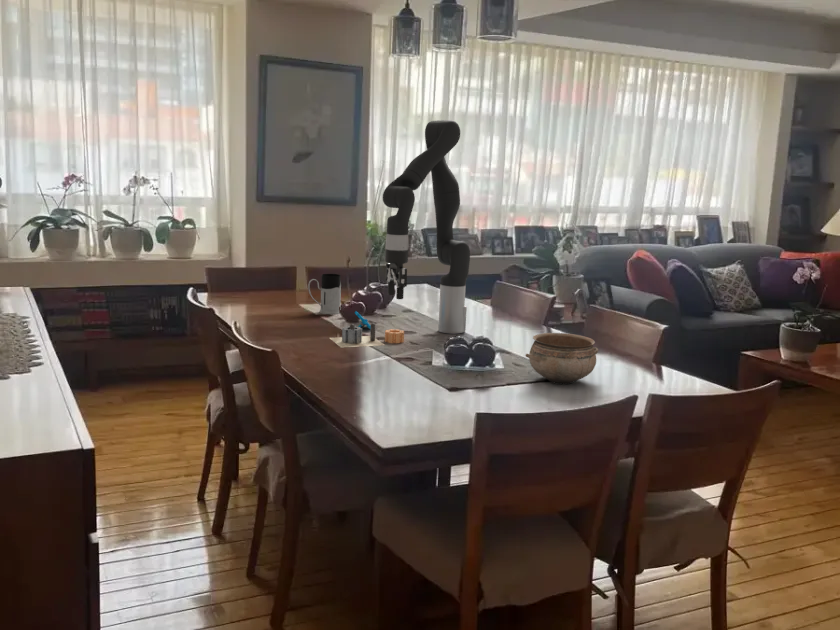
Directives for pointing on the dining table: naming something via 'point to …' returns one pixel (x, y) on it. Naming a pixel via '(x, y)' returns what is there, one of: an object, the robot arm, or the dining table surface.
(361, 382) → the dining table surface
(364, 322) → the blue sprocket wheel
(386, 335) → the gear
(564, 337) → the cooking pot
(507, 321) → the dining table surface
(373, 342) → the peg board
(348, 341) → the gear
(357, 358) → the dining table surface
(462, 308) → the robot arm
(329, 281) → the white and black mug
